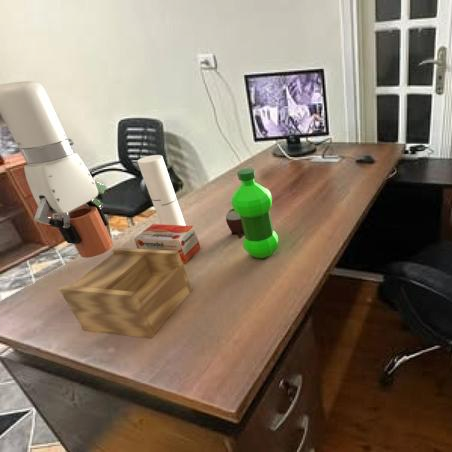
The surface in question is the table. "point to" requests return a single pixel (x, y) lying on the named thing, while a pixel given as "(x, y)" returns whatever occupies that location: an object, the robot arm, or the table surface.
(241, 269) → the table surface
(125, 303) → the wooden crate
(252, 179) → the plastic bottle
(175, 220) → the cylindrical container
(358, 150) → the table surface
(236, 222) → the mate gourd
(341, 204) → the table surface
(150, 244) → the medicine box
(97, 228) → the jar
